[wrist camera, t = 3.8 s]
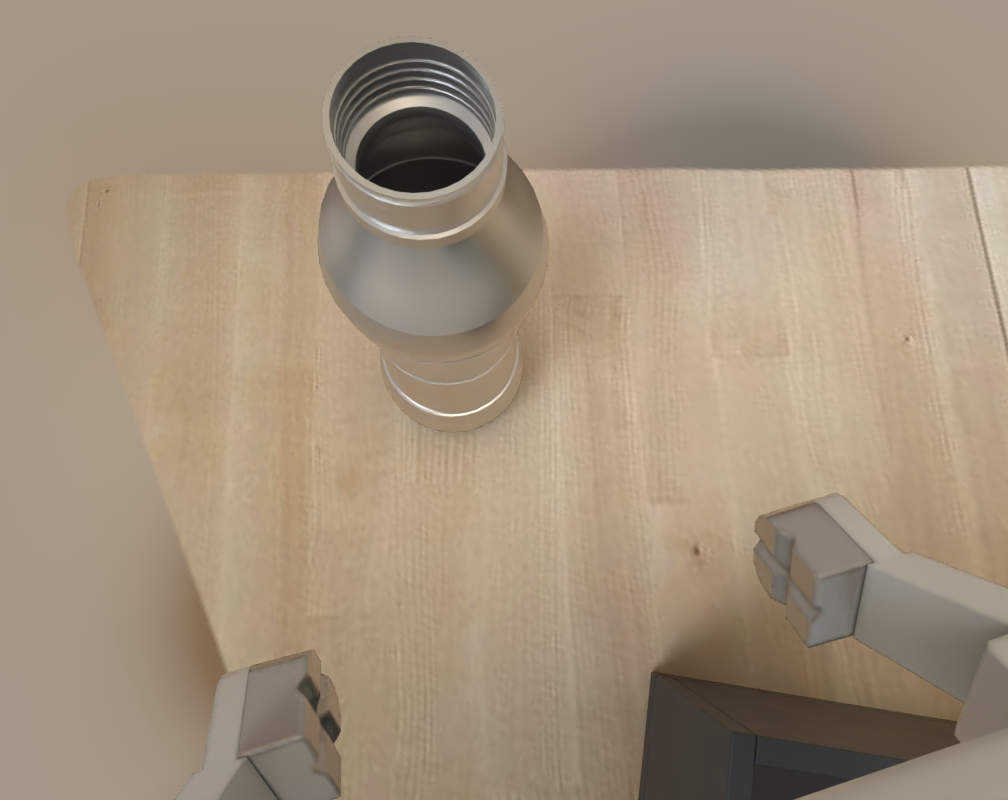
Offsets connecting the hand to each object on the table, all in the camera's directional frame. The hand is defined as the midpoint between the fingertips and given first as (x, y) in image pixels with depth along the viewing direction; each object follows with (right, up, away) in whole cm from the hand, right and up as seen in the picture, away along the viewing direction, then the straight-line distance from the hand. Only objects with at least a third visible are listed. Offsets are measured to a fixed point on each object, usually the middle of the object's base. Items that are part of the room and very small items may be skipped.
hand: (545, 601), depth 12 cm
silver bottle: (-3, +5, +21) cm, 22 cm away
